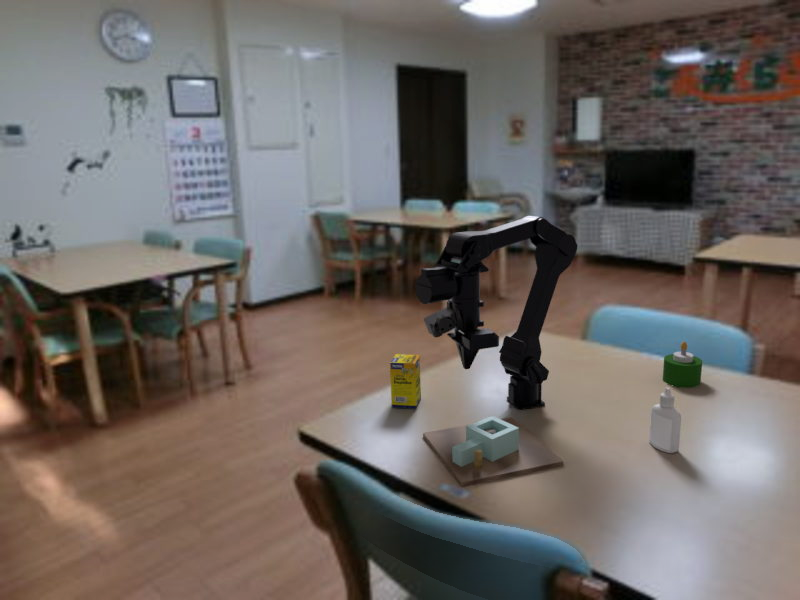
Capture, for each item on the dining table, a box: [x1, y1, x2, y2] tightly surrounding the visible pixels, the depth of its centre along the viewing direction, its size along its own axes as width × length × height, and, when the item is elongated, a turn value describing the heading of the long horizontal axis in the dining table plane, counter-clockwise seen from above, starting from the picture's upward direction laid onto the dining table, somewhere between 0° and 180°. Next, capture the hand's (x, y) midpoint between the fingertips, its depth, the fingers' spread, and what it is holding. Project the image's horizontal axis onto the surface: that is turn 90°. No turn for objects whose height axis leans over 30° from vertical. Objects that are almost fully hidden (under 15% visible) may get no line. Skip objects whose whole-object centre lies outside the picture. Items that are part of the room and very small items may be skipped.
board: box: [422, 416, 565, 487], centre depth 118 cm, size 20×20×4 cm
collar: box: [452, 415, 519, 467], centre depth 115 cm, size 12×7×4 cm, turn 127°
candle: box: [662, 341, 703, 389], centre depth 146 cm, size 8×8×10 cm
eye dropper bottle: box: [648, 387, 682, 454], centre depth 115 cm, size 4×6×12 cm
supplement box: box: [389, 353, 422, 410], centre depth 140 cm, size 6×6×11 cm
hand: (466, 368), depth 128 cm, fingers closed
